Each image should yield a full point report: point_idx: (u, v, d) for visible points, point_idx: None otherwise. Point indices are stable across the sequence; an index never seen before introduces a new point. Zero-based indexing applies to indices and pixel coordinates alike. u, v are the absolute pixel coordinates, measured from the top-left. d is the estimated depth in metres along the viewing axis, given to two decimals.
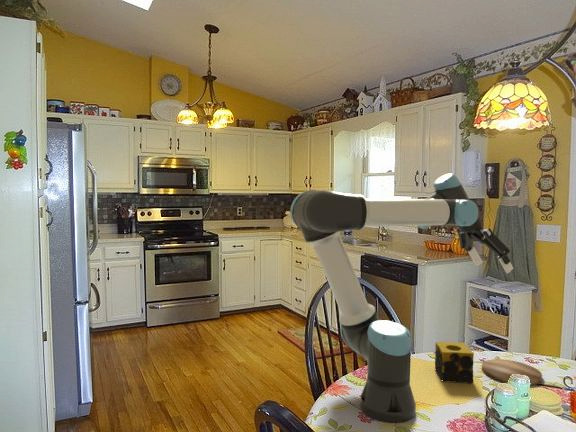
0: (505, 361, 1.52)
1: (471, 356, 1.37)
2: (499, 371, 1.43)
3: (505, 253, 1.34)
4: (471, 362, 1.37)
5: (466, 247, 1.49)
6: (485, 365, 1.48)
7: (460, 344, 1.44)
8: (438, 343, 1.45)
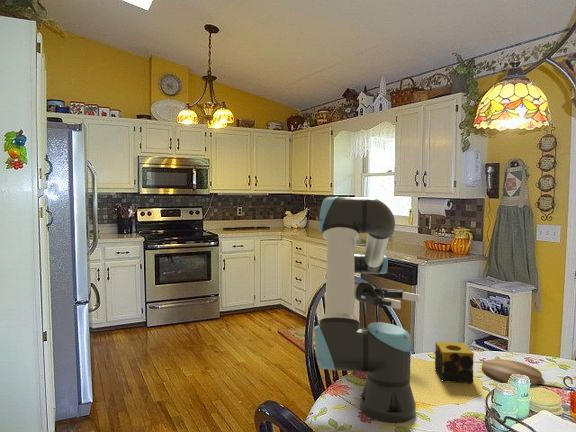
0: (505, 361, 1.52)
1: (471, 356, 1.37)
2: (499, 371, 1.43)
3: None
4: (471, 362, 1.37)
5: (379, 297, 1.54)
6: (485, 365, 1.48)
7: (460, 344, 1.44)
8: (438, 343, 1.45)
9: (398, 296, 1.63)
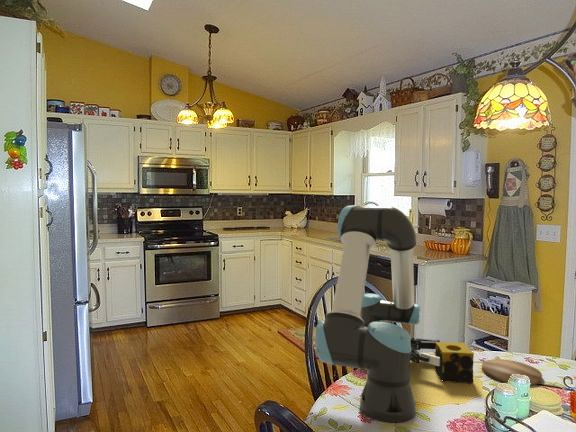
0: (505, 361, 1.52)
1: (471, 356, 1.37)
2: (499, 371, 1.43)
3: None
4: (471, 362, 1.37)
5: (416, 351, 1.45)
6: (485, 365, 1.48)
7: (460, 344, 1.44)
8: (438, 343, 1.45)
9: (433, 347, 1.54)
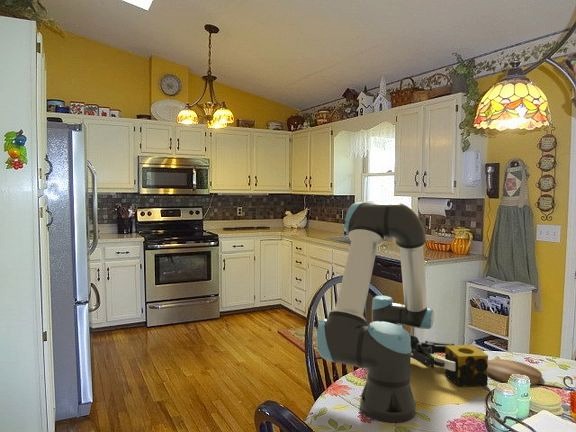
0: (505, 361, 1.52)
1: (486, 358, 1.35)
2: (499, 371, 1.43)
3: None
4: (486, 364, 1.35)
5: (430, 355, 1.41)
6: None
7: (470, 346, 1.42)
8: (449, 347, 1.41)
9: None
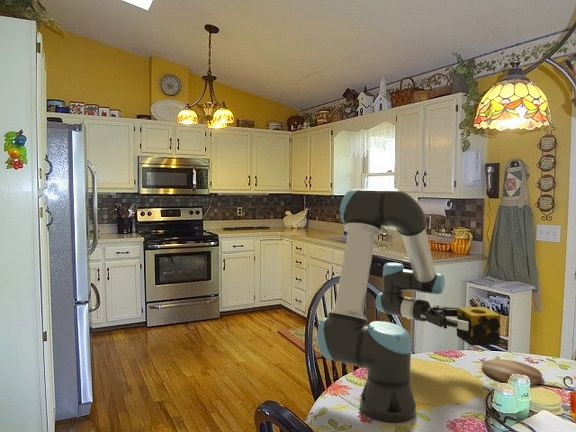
0: (505, 361, 1.52)
1: (498, 318, 1.37)
2: (499, 371, 1.43)
3: None
4: (498, 324, 1.37)
5: (443, 317, 1.42)
6: (485, 365, 1.48)
7: (481, 308, 1.44)
8: (461, 308, 1.43)
9: None
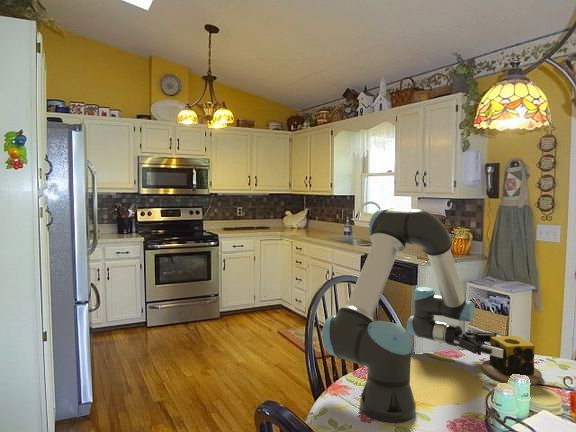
0: None
1: (532, 348, 1.40)
2: (499, 371, 1.43)
3: None
4: (532, 354, 1.40)
5: (476, 343, 1.46)
6: (485, 365, 1.48)
7: (514, 337, 1.47)
8: (494, 338, 1.47)
9: (490, 340, 1.55)
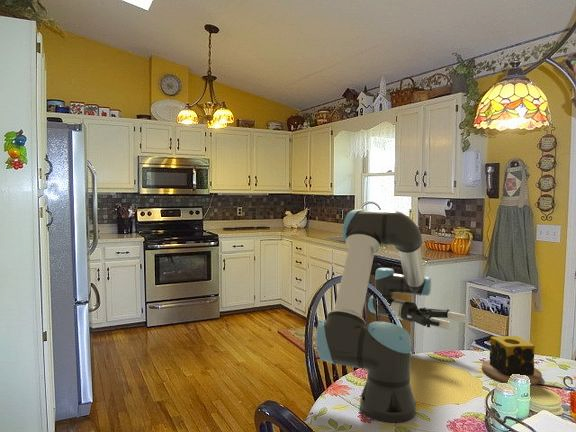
0: None
1: (532, 348, 1.40)
2: (499, 371, 1.43)
3: None
4: (532, 354, 1.40)
5: (427, 317, 1.56)
6: (485, 365, 1.48)
7: (514, 337, 1.47)
8: (494, 338, 1.47)
9: (443, 316, 1.65)
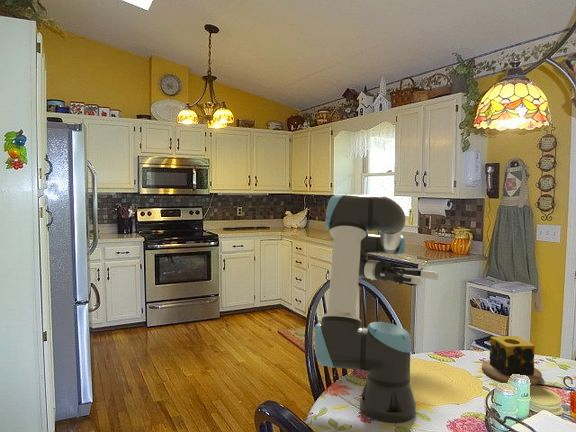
0: None
1: (532, 348, 1.40)
2: (499, 371, 1.43)
3: None
4: (532, 354, 1.40)
5: (399, 274, 1.56)
6: (485, 365, 1.48)
7: (514, 337, 1.47)
8: (494, 338, 1.47)
9: (416, 274, 1.65)
